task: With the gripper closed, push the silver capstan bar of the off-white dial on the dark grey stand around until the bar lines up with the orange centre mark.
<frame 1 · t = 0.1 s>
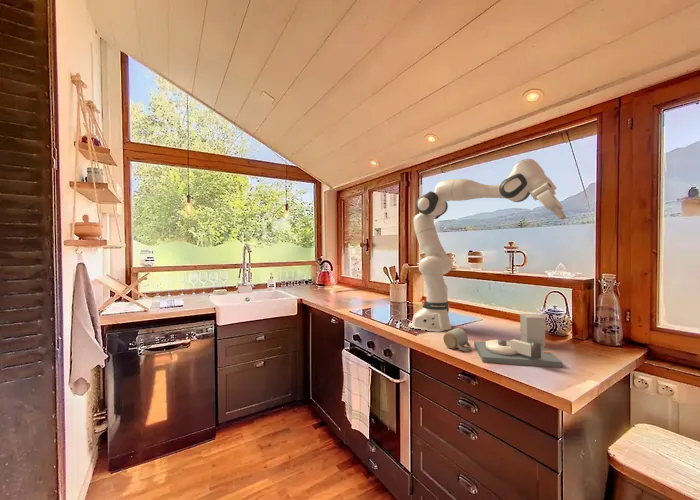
hand: (562, 218, 118), 54 cm above the countertop, tool tilted 30°, fingers open, 8 cm apart
stand: (513, 355, 114), on the countertop
supplement box: (532, 344, 126), on the countertop
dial: (512, 344, 111), point 5 cm above the countertop, hinge at -45.0°
ceramic mug: (458, 348, 124), on the countertop
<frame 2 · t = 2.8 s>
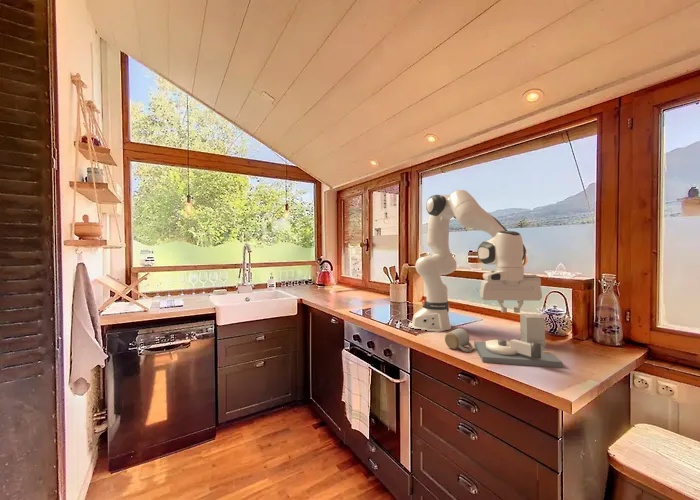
hand: (510, 312, 106), 19 cm above the countertop, tool pointing down, fingers open, 3 cm apart
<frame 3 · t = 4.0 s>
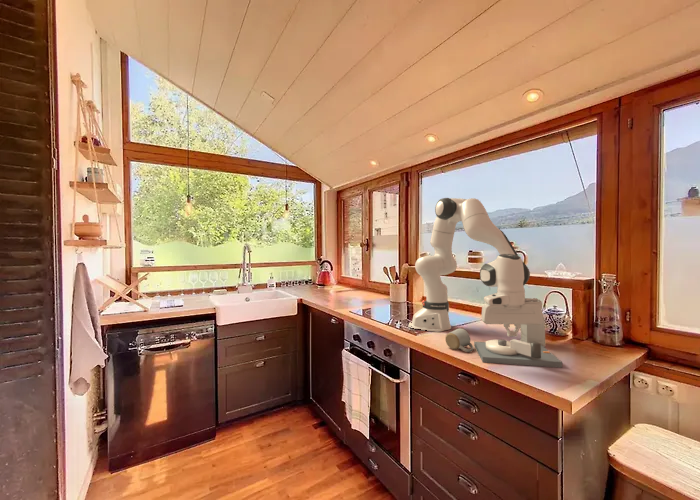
hand: (512, 336, 105), 10 cm above the countertop, tool pointing down, fingers closed
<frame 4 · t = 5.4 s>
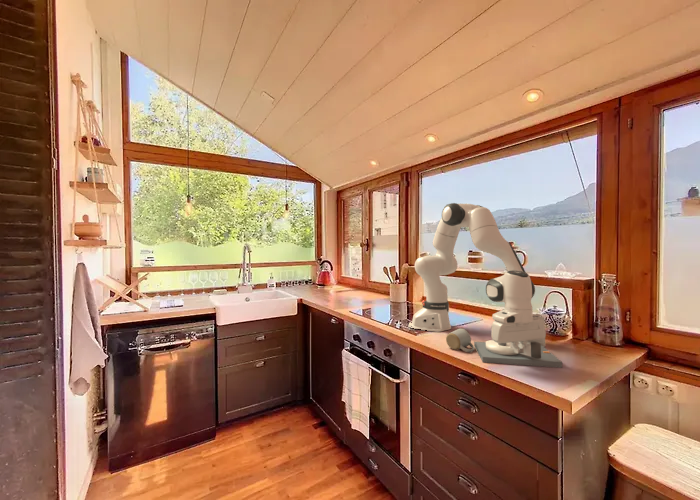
hand: (519, 352, 106), 4 cm above the countertop, tool pointing down, fingers closed
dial: (512, 344, 111), point 5 cm above the countertop, hinge at -44.7°, touching gripper
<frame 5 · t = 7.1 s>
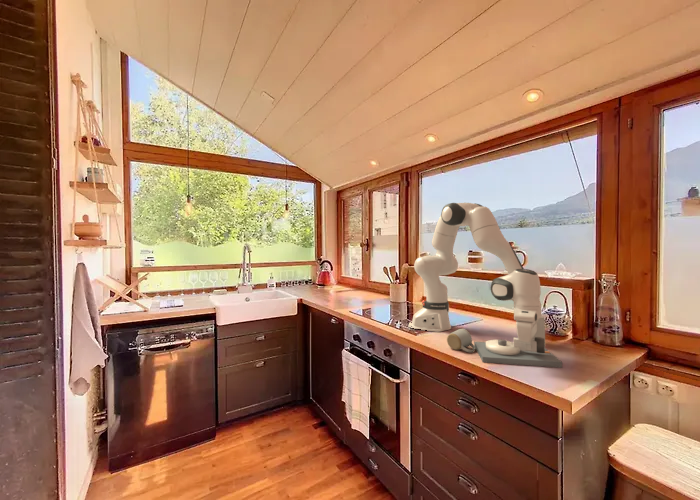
hand: (528, 349, 108), 5 cm above the countertop, tool pointing down, fingers closed
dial: (513, 343, 113), point 5 cm above the countertop, hinge at -13.6°, touching gripper
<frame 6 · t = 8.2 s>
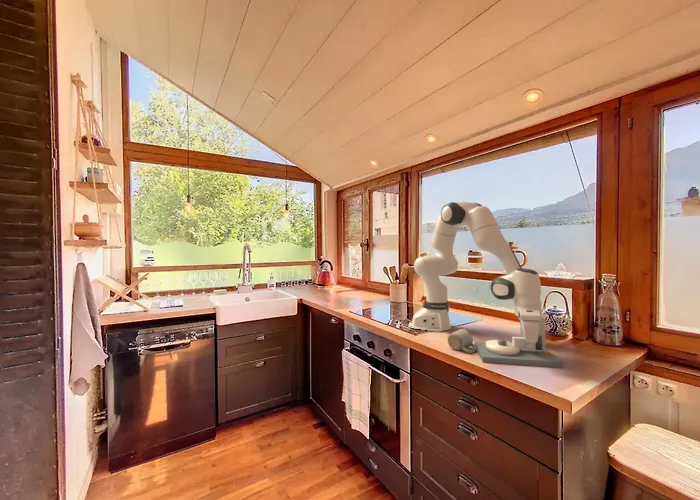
hand: (529, 347, 110), 5 cm above the countertop, tool pointing down, fingers closed
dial: (513, 342, 114), point 5 cm above the countertop, hinge at 1.3°, touching gripper
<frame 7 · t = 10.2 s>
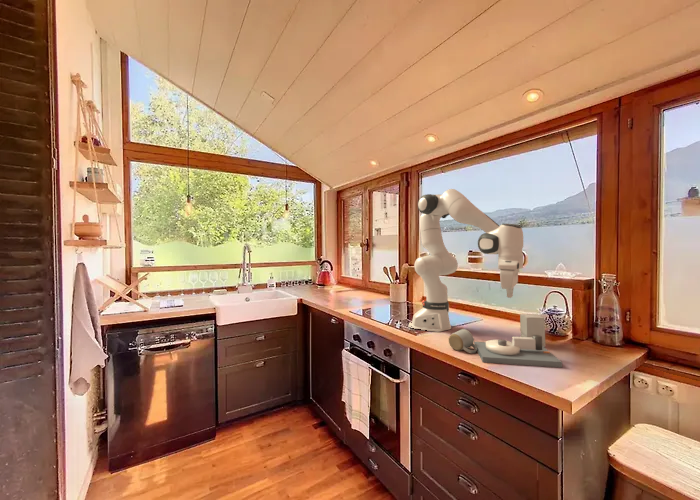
hand: (509, 297, 118), 22 cm above the countertop, tool pointing down, fingers closed
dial: (513, 342, 114), point 5 cm above the countertop, hinge at 1.3°
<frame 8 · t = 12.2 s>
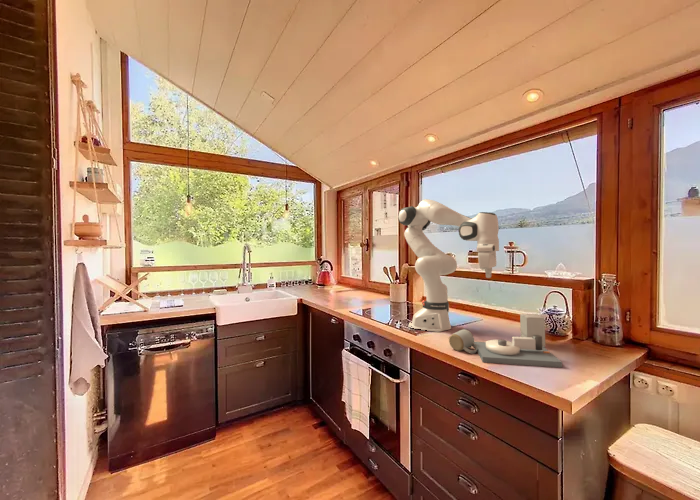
hand: (488, 277, 131), 29 cm above the countertop, tool pointing down, fingers closed
at the end: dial at +1° (first picture: -45°); supplement box moved 0.2 cm from its start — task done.
